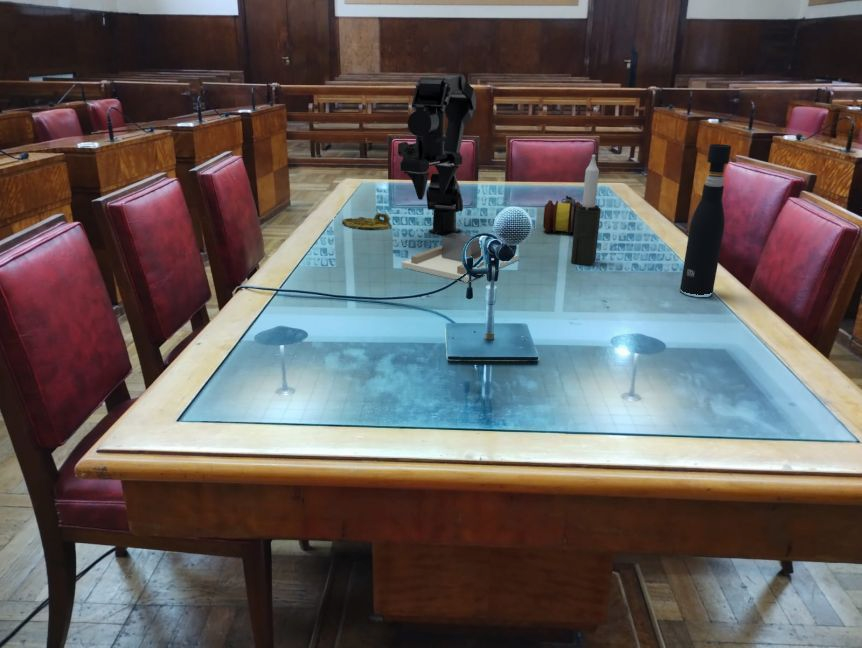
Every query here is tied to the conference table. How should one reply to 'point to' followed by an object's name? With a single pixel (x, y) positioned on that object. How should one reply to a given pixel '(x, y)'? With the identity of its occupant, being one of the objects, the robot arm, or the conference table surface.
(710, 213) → the black water bottle
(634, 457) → the conference table surface
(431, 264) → the plate
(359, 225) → the seal
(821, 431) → the conference table surface
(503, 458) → the conference table surface
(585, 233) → the candle
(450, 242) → the block
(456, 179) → the robot arm
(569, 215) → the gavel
